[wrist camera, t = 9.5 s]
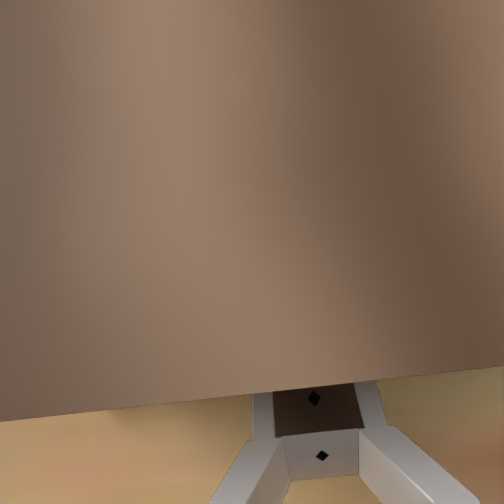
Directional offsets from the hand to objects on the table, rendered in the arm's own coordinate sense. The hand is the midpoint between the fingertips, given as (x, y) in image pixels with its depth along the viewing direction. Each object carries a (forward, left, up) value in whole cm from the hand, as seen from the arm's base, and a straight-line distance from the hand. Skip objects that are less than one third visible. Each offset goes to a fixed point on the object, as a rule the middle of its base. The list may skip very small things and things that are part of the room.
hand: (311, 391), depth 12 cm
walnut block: (0, +7, -5) cm, 8 cm away
